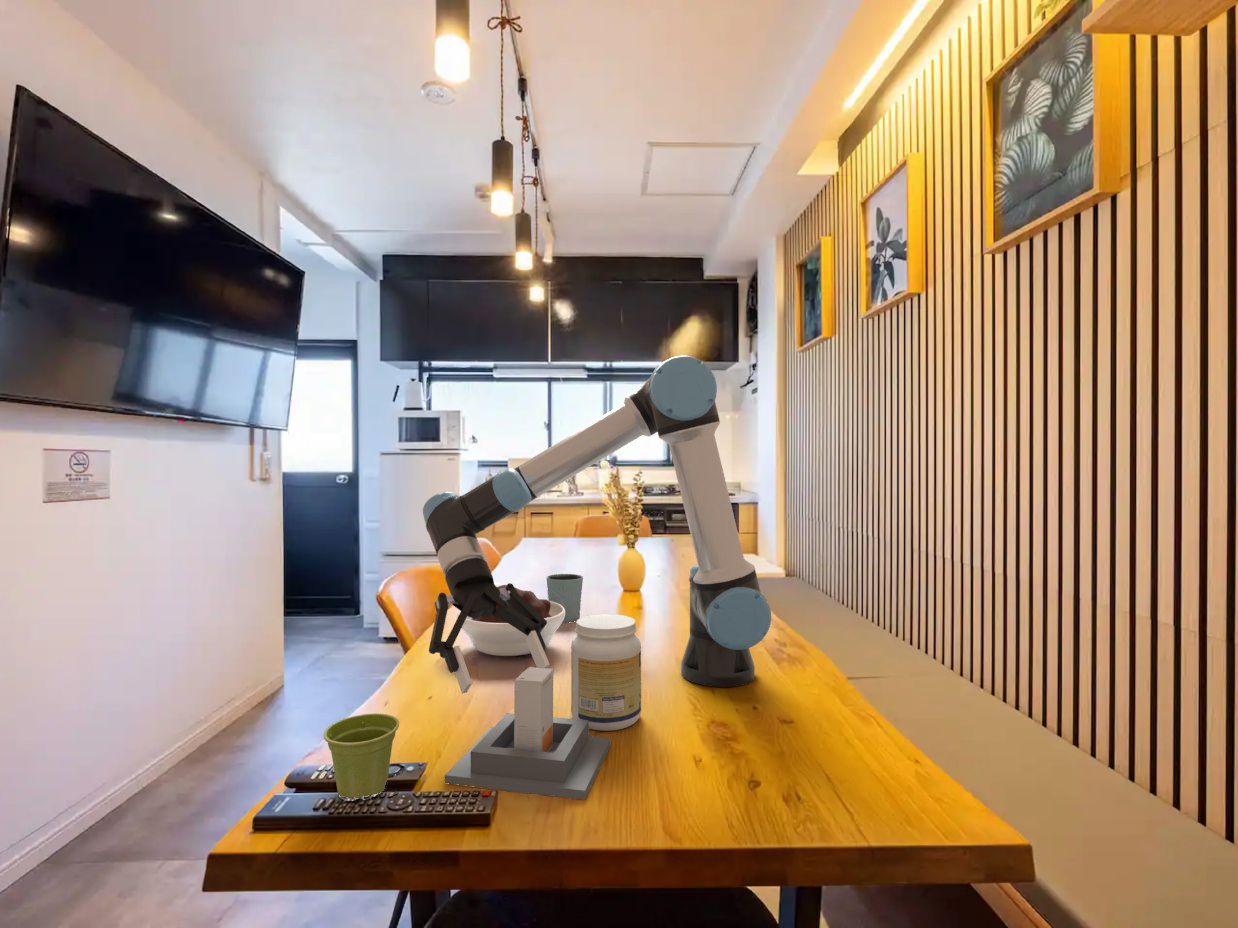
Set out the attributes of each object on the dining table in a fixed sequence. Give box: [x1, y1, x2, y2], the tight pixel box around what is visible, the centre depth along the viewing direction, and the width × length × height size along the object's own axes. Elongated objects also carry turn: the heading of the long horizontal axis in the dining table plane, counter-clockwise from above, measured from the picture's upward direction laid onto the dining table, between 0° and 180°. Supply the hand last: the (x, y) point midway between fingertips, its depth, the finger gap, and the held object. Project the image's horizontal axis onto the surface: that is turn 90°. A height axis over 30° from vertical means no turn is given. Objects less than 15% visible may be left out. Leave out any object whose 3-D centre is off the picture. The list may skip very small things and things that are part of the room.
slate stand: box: [444, 712, 612, 801], centre depth 92 cm, size 20×16×4 cm
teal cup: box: [546, 573, 584, 624], centre depth 176 cm, size 10×10×12 cm
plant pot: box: [323, 712, 400, 797], centre depth 85 cm, size 9×9×9 cm
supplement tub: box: [570, 613, 642, 732], centre depth 109 cm, size 12×12×17 cm
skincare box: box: [513, 666, 554, 752], centre depth 93 cm, size 6×4×12 cm
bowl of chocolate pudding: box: [456, 584, 566, 657], centre depth 147 cm, size 25×25×15 cm
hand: (507, 678), depth 98 cm, fingers open, 13 cm apart
